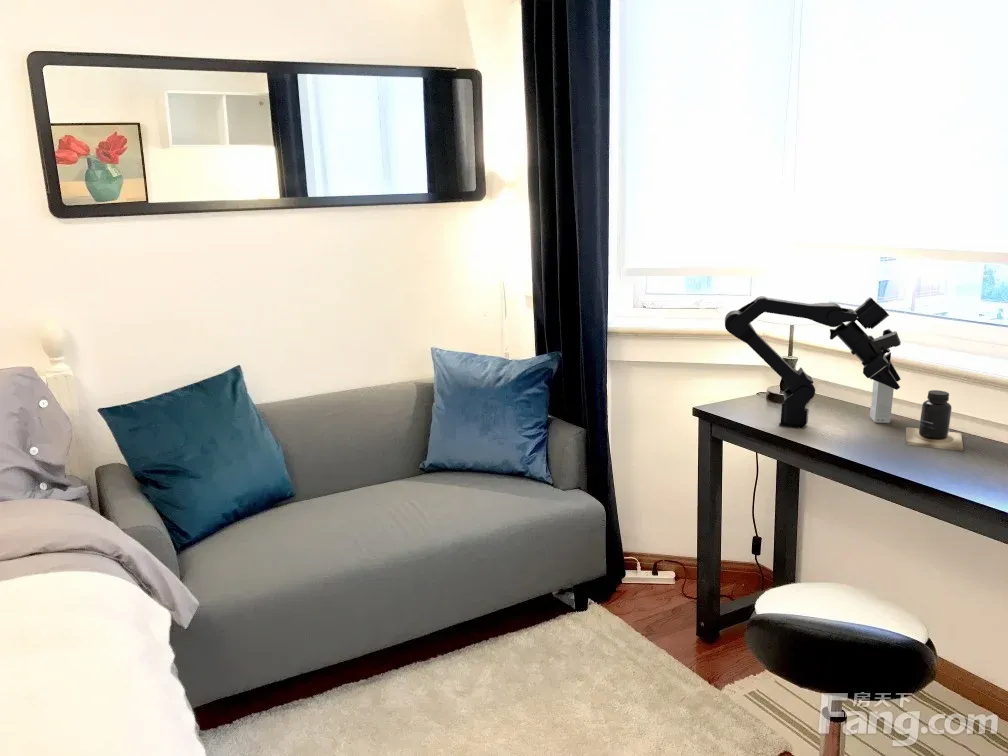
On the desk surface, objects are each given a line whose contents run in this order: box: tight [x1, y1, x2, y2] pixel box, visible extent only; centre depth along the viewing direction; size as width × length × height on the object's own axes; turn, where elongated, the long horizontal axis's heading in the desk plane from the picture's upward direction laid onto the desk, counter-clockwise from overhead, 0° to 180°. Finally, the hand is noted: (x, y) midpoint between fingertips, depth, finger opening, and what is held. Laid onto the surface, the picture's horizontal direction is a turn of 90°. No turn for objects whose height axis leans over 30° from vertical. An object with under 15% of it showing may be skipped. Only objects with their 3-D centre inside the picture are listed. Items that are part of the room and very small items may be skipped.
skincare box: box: [869, 380, 895, 424], centre depth 226 cm, size 6×4×12 cm
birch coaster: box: [905, 427, 964, 452], centre depth 210 cm, size 13×13×1 cm
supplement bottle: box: [918, 389, 953, 440], centre depth 208 cm, size 7×7×12 cm
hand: (898, 384), depth 213 cm, fingers open, 9 cm apart
